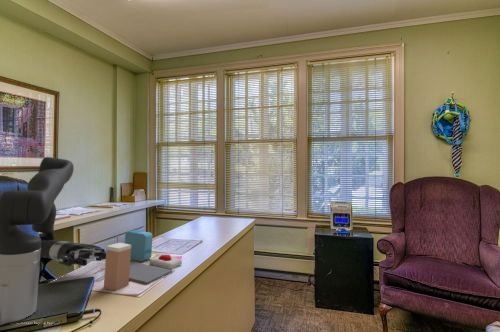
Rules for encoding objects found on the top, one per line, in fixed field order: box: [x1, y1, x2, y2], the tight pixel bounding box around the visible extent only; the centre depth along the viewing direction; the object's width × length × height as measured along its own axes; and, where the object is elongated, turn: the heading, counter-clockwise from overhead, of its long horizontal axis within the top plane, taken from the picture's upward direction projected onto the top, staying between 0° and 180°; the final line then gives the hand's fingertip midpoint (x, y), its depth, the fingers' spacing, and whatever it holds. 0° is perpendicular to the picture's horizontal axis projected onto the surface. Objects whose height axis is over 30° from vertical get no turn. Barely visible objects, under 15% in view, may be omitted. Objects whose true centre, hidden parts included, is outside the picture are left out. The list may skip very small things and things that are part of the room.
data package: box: [124, 229, 153, 262], centre depth 125 cm, size 12×4×12 cm, turn 68°
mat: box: [129, 261, 173, 285], centre depth 108 cm, size 14×20×1 cm
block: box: [103, 242, 131, 292], centre depth 95 cm, size 6×6×14 cm
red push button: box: [149, 254, 183, 270], centre depth 120 cm, size 12×4×10 cm
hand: (97, 259), depth 99 cm, fingers open, 8 cm apart
